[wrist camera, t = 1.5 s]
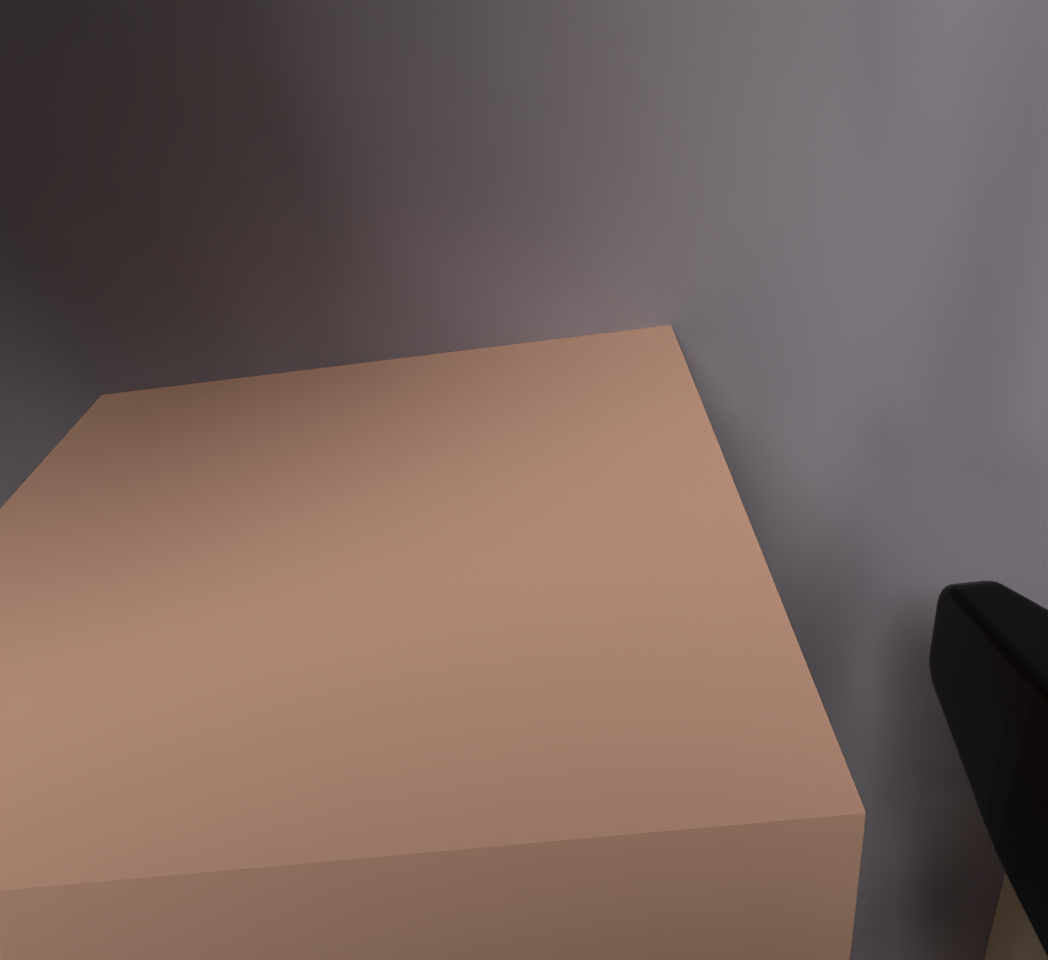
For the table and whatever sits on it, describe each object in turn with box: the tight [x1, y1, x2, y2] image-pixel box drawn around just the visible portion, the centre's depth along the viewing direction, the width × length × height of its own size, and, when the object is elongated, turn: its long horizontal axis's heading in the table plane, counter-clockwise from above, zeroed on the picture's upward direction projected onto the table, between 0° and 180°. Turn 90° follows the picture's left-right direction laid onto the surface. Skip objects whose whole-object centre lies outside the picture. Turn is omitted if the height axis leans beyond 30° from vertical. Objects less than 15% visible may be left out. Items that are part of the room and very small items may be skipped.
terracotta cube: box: [0, 325, 866, 960], centre depth 7 cm, size 5×5×5 cm
